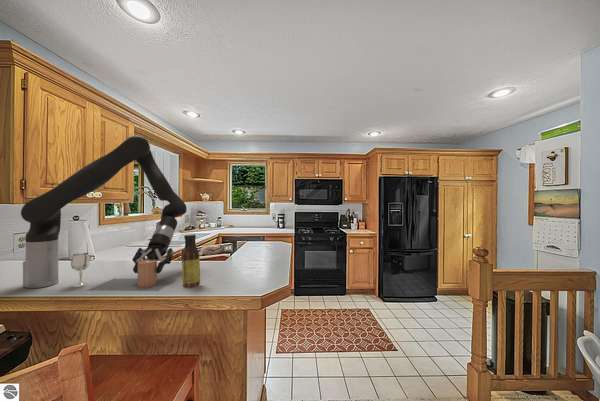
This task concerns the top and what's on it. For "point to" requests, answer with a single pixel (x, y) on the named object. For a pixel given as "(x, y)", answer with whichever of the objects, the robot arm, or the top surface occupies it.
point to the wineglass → (80, 265)
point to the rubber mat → (131, 285)
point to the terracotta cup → (147, 273)
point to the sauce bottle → (190, 262)
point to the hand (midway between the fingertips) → (146, 272)
